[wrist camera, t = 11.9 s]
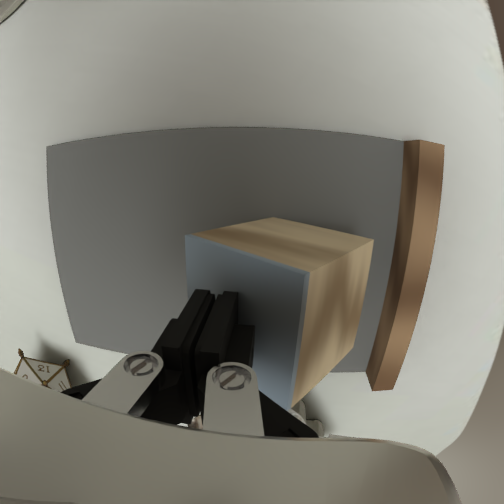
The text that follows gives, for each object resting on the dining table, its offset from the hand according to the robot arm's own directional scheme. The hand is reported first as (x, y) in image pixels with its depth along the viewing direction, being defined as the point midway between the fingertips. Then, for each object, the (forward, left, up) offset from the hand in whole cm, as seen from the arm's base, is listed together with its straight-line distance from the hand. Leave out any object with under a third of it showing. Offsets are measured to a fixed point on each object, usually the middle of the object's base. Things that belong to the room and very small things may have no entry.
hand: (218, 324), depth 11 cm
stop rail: (0, +10, -7) cm, 12 cm away
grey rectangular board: (0, -2, -7) cm, 7 cm away
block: (0, +1, 0) cm, 1 cm away
